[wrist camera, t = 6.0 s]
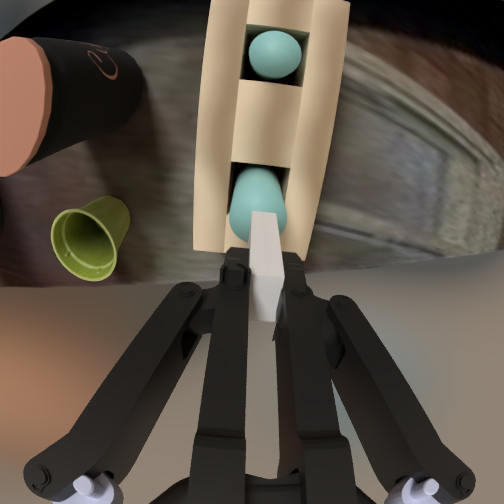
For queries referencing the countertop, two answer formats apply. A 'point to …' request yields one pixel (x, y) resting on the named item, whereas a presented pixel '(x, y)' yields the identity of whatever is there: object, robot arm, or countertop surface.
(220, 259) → the countertop surface
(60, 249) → the plant pot
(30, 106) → the coffee jar
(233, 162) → the socket block
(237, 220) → the peg
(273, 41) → the peg
